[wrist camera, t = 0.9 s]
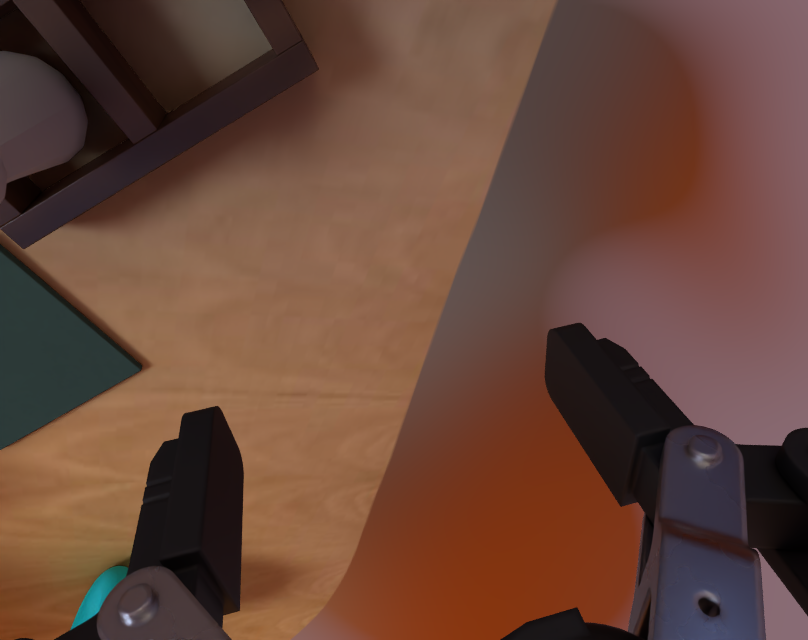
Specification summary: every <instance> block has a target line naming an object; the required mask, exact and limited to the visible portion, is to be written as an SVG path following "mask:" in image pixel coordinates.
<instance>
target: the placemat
mask: <svg viewBox="0 0 808 640" xmlns="http://www.w3.org/2000/svg"><path fill="white" fill-rule="evenodd" d="M141 369H142V365H141V364H140V363H139V362H137V361H136V360H135V359H134V358H133V357H132V356H130V355H129V354H128V353H127V352H126V351H125V350H123V349H122V348H121V347H120V346H119V345H118V344H116V343H115V342H114V341H113V340H112V339H110V338H109V337H108V336H107V335H106V334H105V333H103V332H102V331H101V330H100V329H99V328H98V327H96V326H95V325H94V324H93V323H92V322H91V321H89V320H88V319H87V318H86V317H85V316H84V315H82V314H81V313H80V312H79V311H78V310H77V309H75V308H74V307H73V306H72V305H71V304H70V303H68V302H67V301H66V300H65V299H64V298H63V297H61V296H60V295H59V294H58V293H57V292H56V291H54V290H53V289H52V288H51V287H50V286H49V285H47V284H46V283H45V282H44V281H43V280H42V279H40V278H39V277H38V276H37V275H36V274H35V273H33V272H32V271H31V270H30V269H29V268H28V267H26V266H25V265H24V264H23V263H22V262H21V261H19V260H18V259H17V258H16V257H15V256H14V255H12V254H11V253H10V252H9V251H8V250H7V249H5V248H4V247H3V246H2V245H1V244H0V450H1V449H3V448H5V447H6V446H8V445H10V444H12V443H14V442H15V441H17V440H19V439H21V438H22V437H24V436H26V435H28V434H29V433H31V432H33V431H35V430H37V429H38V428H40V427H42V426H44V425H45V424H47V423H49V422H51V421H52V420H54V419H56V418H58V417H59V416H61V415H63V414H65V413H67V412H68V411H70V410H72V409H74V408H75V407H77V406H79V405H81V404H82V403H84V402H86V401H88V400H89V399H91V398H93V397H95V396H97V395H98V394H100V393H102V392H104V391H105V390H107V389H109V388H111V387H112V386H114V385H116V384H118V383H120V382H121V381H123V380H125V379H127V378H128V377H130V376H132V375H134V374H135V373H137V372H139V371H141Z"/></svg>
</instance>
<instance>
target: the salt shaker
mask: <svg viewBox="0 0 808 640" xmlns="http://www.w3.org/2000/svg"><path fill="white" fill-rule="evenodd" d="M87 125H88V119H87V115H86V111H85V108H84V104H83V101H82V97H81V96H80V94H79V93H78V92H77V91H76V90H75V88H74V87H73V86H72V85H71V84H70V82H69V81H68V80H67V79H66V78H65V76H64V75H63V74H62V73H60V72H59V71H57V70H56V69H54V68H53V67H51V66H49V65H48V64H46V63H45V62H43V61H42V60H40V59H39V58H37V57H34V56H29V55H24V54H19V53H14V52H9V51H0V203H1V202H2V201H3V199H4V198H5V193H6V185H7V183H9V182H11V181H14V180H16V179H19V178H21V177H24V176H27V175H30V174H33V173H36V172H39V171H42V170H45V169H48V168H51V167H54V166H57V165H60V164H62V163H65V162H68V161H69V160H70V159H71V158H72V157H73V156H74V155H75V154H76V153H77V152H78V151H80V150H81V149H82V148H83V147H84V143H85V137H86V131H87Z"/></svg>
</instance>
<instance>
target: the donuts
mask: <svg viewBox="0 0 808 640" xmlns="http://www.w3.org/2000/svg"><path fill="white" fill-rule="evenodd" d="M127 571H128V567H125V566H114V567H111V568H109V569H107V570H106V571H104V572H103V573H102V574H101V575H100V576H99V577H98V578H97V579H96V581H95V582H94V583H93V585H92V586H91V588H90V589H89V591H88V593H87V594H86V596H85V598H84V600H83V602H82V604H81V606H80V608H79V610H78V612H77V615H76V617H75V619H74V622H73V625H72V627H71V629H73V628H75V627H77V626H78V625H80V624H82V623H84V622H85V621H87V620H88V619H90V618H92V617H93V616H94V615H96V614H97V613H98V612H99V611H100V608H101V606H102V604H103V602H104V600H105V598H106V597H107V595H108V594H109V593H110V591H111V590H112V589H113V588H114V587H115V586H116V585H117V584H118V583H119V582H120V581H121V580H123V579H124V578H125V577H126V575H127Z"/></svg>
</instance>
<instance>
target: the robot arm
mask: <svg viewBox="0 0 808 640" xmlns="http://www.w3.org/2000/svg"><path fill="white" fill-rule="evenodd" d="M545 382H546V387H547V390H548V393H549V395H550V397H551V399H552V401H553V402H554V404H555V405H556V407H557V409H558V410H559V412H560V413H561V415H562V416H563V418H564V419H565V421H566V423H567V424H568V426H569V427H570V429H571V430H572V432H573V433H574V435H575V437H576V438H577V439H578V441H579V443H580V444H581V446H582V447H583V449H584V450H585V452H586V454H587V455H588V456H589V458H590V460H591V461H592V463H593V464H594V466H595V468H596V469H597V471H598V472H599V474H600V475H601V477H602V478H603V480H604V482H605V483H606V484H607V486H608V488H609V489H610V491H611V492H612V494H613V495H614V497H615V499H616V500H617V502H618V503H619V505H620V506H621V507H622V506H625V505H629V504H632V503H636V502H638V503H639V505H640V506H641V507H642V509H643V511H644V512H645V513H644V517H643V522H642V531H641V540H640V549H639V558H638V567H637V576H636V585H635V593H634V601H633V605H632V610H631V615H630V620H629V626H628V632H627V631H625V630H622V629H620V628H616V627H612V626H608V625H604V624H597V623H585V622H584V620H583V618H582V616H581V614H580V612H579V610H578V608H573V609H570V610H566V611H563V612H559V613H556V614H553V615H550V616H546V617H543V618H539V619H536V620H533V621H529V622H526V623H525V624H523V625H522V626H521V627H519V628H517V629H516V630H514V631H513V632H511V633H510V634H508V635H507V636H505V637H504V638H502V639H501V640H766V634H765V619H764V605H763V590H762V576H761V564H760V558H759V554H758V552H757V551H756V550H755V549H752V548H757V549H758V550H759V552H760V553H761V554H762V556H763V557H764V558H765V560H766V561H767V562H768V564H769V565H770V566H771V568H772V569H773V570H774V572H775V573H776V574H777V576H778V577H779V578H780V579H781V581H782V582H783V584H784V585H785V586H786V588H787V589H788V590H789V592H790V593H791V594H792V596H793V597H794V598H795V600H796V601H797V602H798V604H799V605H800V606H801V608H802V609H803V610H804V612H805V613H806V614H807V616H808V428H800V429H797V430H794V431H792V432H791V433H789V434H788V435H787V437H786V438H785V441H784V442H783V444H782V446H767V445H740V444H734V442H733V441H731V440H730V439H729V438H728V437H726V436H725V435H723V434H722V433H720V432H718V431H716V430H713V429H710V428H707V427H703V426H697V425H694V424H693V423H692V422H691V421H690V420H689V419H688V418H687V417H686V416H685V415H684V414H683V412H682V411H681V410H680V409H679V408H678V407H677V406H676V405H675V403H674V402H672V400H671V399H670V398H669V397H668V396H667V395H666V394H665V392H664V391H663V390H662V389H661V388H660V387H659V386H658V385H657V384H656V382H655V381H654V380H653V379H650V378H649V375H648V374H647V373H646V371H645V370H644V369H643V368H642V367H639V365H638V363H637V361H636V360H635V359H634V358H633V357H632V356H631V355H630V354H629V353H628V352H627V350H626V349H624V348H623V347H621V346H619V345H617V344H616V343H614V342H612V341H610V340H608V339H607V338H603V339H599V340H596V338H595V337H594V336H593V335H592V334H591V333H590V332H589V330H588V329H587V328H586V327H585V326H584V325H583V324H582V323H575V324H571V325H567V326H562V327H558V328H554V329H550V330H549V332H548V336H547V349H546V363H545ZM243 481H244V471H243V462H242V457H241V453H240V450H239V448H238V445H237V443H236V441H235V439H234V437H233V434H232V432H231V430H230V428H229V426H228V423H227V421H226V419H225V417H224V415H223V412H222V410H221V409H220V408H219V407H218V406H215V407H210V408H206V409H202V410H197V411H193V412H189V413H185V414H184V415H183V416H182V420H181V426H180V432H179V438H178V439H174V440H170V441H165V442H164V443H163V444H162V446H161V447H160V449H159V450H158V452H157V453H156V455H155V456H154V458H153V459H152V461H151V463H150V468H149V472H148V477H147V482H146V484H147V487H145V491H144V496H143V505H142V506H141V511H140V515H139V520H138V525H137V530H136V534H135V539H134V544H133V549H132V554H131V558H130V563H129V568H128V571H127V575H126V577H125V578H124V579H123V580H121V581H120V582H119V583H118V584H117V585H116V586H115V587H114V588H113V589H112V590H111V591H110V593H109V594H108V595H107V597H106V598H105V600H104V602H103V604H102V606H101V608H100V611H99V612H98V613H97V614H96V615H94V616H93V617H92V618H90V619H88V620H87V621H85V622H84V623H82V624H80V625H78V626H77V627H75V628H73V629H71V630H70V631H68V632H66V633H65V634H63V635H61V636H59V637H58V638H56V639H54V640H232V639H231V638H230V637H229V636H228V635H227V634H226V633H225V632H224V630H223V629H222V625H223V615H227V614H230V613H234V612H237V611H240V585H241V550H242V515H243ZM15 640H33V639H29V638H19V639H15Z"/></svg>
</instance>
